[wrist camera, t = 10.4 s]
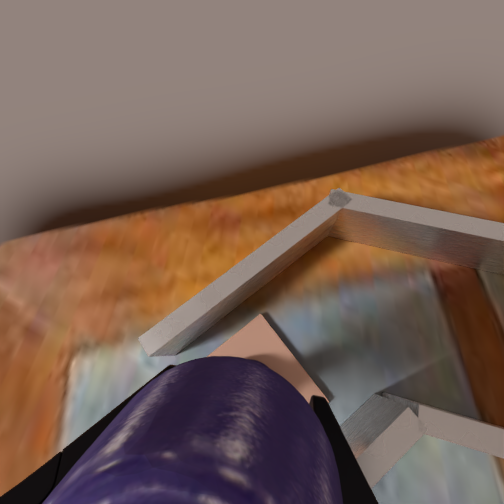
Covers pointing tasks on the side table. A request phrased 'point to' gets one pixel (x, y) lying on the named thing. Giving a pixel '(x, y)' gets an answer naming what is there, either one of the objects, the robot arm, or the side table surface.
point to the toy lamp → (209, 443)
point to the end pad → (269, 355)
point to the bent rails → (374, 234)
